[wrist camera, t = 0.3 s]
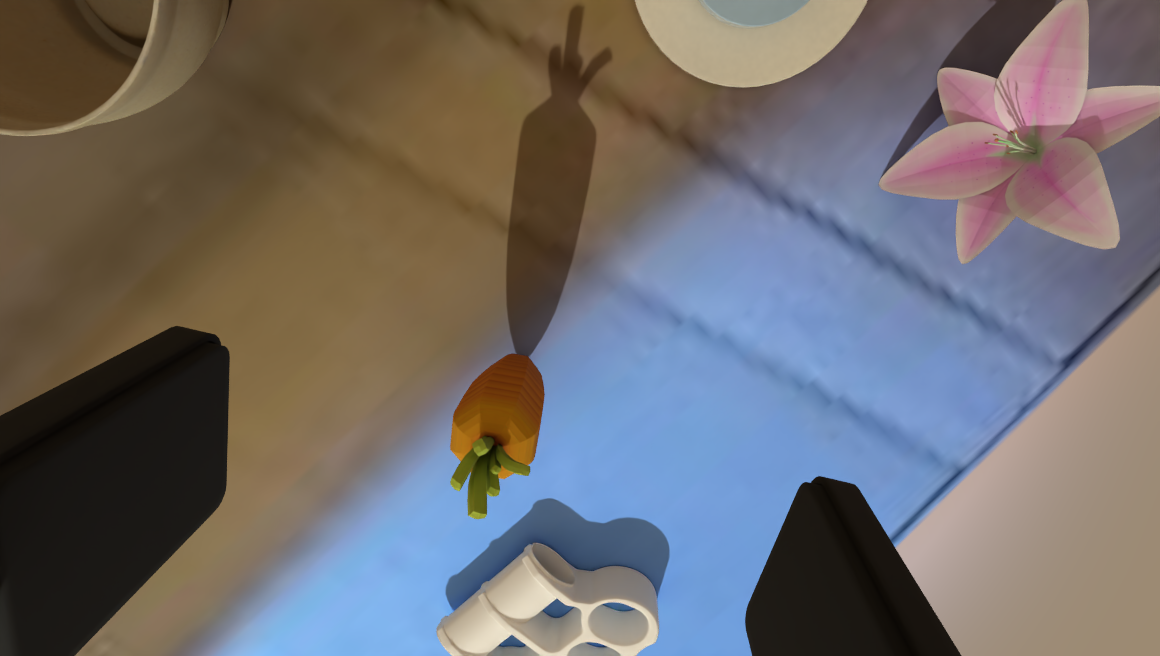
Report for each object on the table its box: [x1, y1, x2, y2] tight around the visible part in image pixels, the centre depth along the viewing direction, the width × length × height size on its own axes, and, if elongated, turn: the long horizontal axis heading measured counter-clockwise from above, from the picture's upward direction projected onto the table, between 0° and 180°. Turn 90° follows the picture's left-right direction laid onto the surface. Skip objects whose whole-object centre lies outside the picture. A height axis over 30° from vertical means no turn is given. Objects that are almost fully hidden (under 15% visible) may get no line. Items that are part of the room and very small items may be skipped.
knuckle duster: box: [436, 543, 659, 656], centre depth 49 cm, size 3×18×15 cm
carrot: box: [450, 354, 545, 519], centre depth 35 cm, size 5×5×15 cm
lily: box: [879, 0, 1160, 264], centre depth 32 cm, size 12×12×10 cm
